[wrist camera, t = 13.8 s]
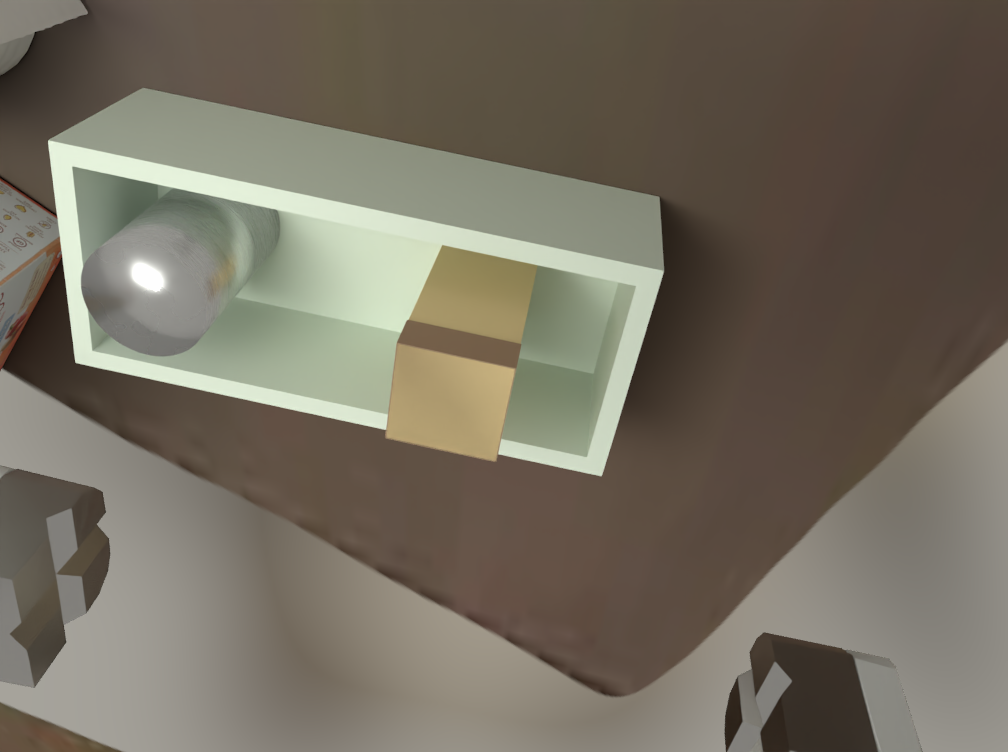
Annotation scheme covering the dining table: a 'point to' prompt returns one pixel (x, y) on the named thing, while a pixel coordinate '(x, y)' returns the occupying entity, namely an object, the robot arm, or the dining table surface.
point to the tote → (368, 264)
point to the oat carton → (460, 354)
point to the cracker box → (23, 260)
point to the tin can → (176, 269)
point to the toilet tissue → (30, 24)
